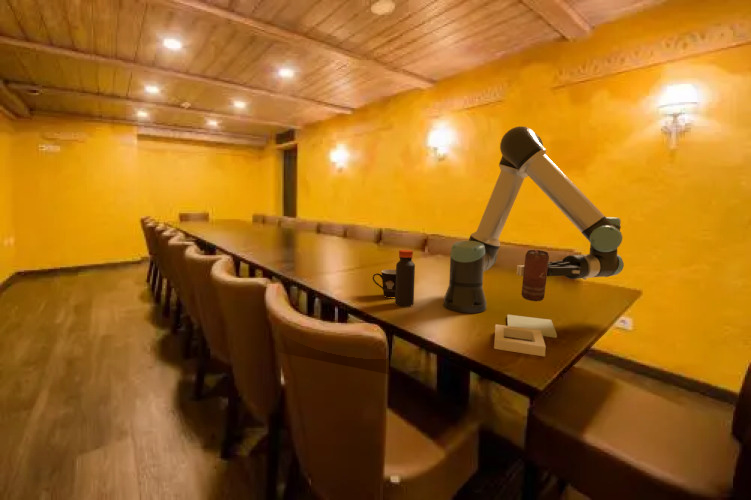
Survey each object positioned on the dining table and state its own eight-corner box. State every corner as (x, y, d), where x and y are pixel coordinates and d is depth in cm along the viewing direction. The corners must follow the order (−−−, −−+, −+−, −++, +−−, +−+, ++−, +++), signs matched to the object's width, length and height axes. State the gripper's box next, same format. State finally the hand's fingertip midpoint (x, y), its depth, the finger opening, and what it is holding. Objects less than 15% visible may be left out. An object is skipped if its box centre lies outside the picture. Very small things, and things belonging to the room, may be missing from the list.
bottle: (411, 308, 122) (413, 252, 119) (393, 305, 124) (394, 251, 121) (415, 302, 128) (417, 250, 125) (397, 300, 130) (399, 248, 128)
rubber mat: (507, 331, 102) (507, 327, 101) (507, 317, 114) (507, 314, 113) (556, 337, 97) (556, 334, 97) (550, 322, 109) (551, 319, 109)
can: (536, 293, 104) (541, 248, 101) (548, 301, 98) (553, 254, 95) (517, 293, 104) (521, 249, 101) (527, 302, 98) (532, 255, 95)
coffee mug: (406, 296, 137) (407, 271, 136) (393, 300, 131) (393, 275, 129) (384, 290, 145) (385, 267, 143) (370, 294, 138) (371, 270, 137)
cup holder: (494, 348, 89) (494, 339, 89) (495, 332, 100) (495, 324, 100) (544, 356, 85) (545, 347, 85) (540, 338, 96) (540, 330, 96)
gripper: (597, 283, 103) (535, 288, 95) (560, 273, 115) (502, 278, 108) (600, 258, 102) (537, 262, 94) (562, 251, 114) (504, 254, 106)
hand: (519, 270), depth 101 cm, fingers closed on can
